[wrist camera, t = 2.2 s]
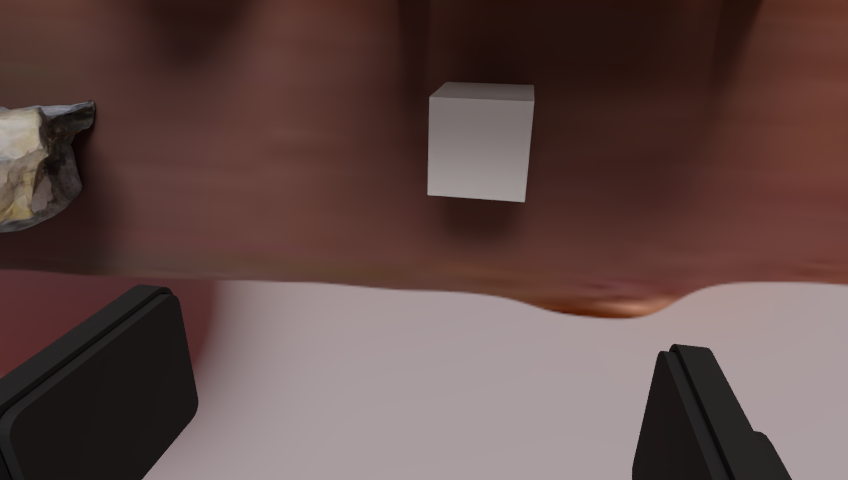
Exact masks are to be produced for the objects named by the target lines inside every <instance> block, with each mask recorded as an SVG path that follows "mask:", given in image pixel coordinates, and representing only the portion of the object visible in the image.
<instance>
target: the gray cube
mask: <svg viewBox="0 0 848 480" xmlns="http://www.w3.org/2000/svg"><path fill="white" fill-rule="evenodd" d="M533 111H534V85H519V84H493V83H467V82H446V83H445V84H444V85H443V86H441V87H440V88H439V89H438V90H437V91H436V92H434V93H433V94H432V95H431V96H430V97H429V145H428V195H434V196H448V197H462V198H475V199H489V200H502V201H516V202H525V194H526V183H527V173H528V162H529V152H530V142H531V131H532V121H533Z"/></svg>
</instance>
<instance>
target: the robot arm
mask: <svg viewBox="0 0 848 480" xmlns="http://www.w3.org/2000/svg"><path fill="white" fill-rule="evenodd" d="M197 408H198V396H197V391H196V385H195V380H194V375H193V370H192V365H191V359H190V354H189V349H188V344H187V339H186V333H185V328H184V323H183V318H182V312H181V307H180V302H179V299H178V298H177V297H176V296H174V295H173V293H172V291H171V290H170V289H169V288H167V287H160V286H151V285H137V286H135V287H133V288H132V289H130V290H129V291H127V292H126V293H124V294H123V295H121V296H120V297H119V298H117V299H116V300H114V301H113V302H111V303H110V304H108V305H107V306H106V307H104V308H103V309H101V310H100V311H98V312H97V313H95V314H94V315H93V316H91V317H89V318H88V319H87V320H85V321H84V322H82V323H81V324H79V325H78V326H76V327H75V328H73V329H72V330H71V331H69V332H68V333H66V334H65V335H63V336H62V337H61V338H59V339H58V340H56V341H55V342H53V343H52V344H50V345H49V346H48V347H46V348H44V349H43V350H42V351H40V352H39V353H37V354H36V355H34V356H33V357H31V358H30V359H28V360H27V361H26V362H24V363H23V364H21V365H20V366H18V367H17V368H16V369H14V370H12V371H11V372H10V373H8V374H7V375H5V376H4V377H2V378H1V379H0V480H142V479H143V477H144V476H145V475H146V474H147V472H148V471H149V470H150V469H151V468H152V467H153V465H154V464H155V463H156V462H157V461H158V460H159V458H160V457H161V456H162V455H163V454H164V452H165V451H166V450H167V449H168V448H169V446H170V445H171V444H172V443H173V442H174V440H175V439H176V438H177V437H178V436H179V434H180V433H181V432H182V431H183V429H184V428H185V427H186V426H187V425H188V424H189V423H190V421H191V420H192V419H193V417H194V416H195V414H196V411H197ZM632 480H792V479H791V477H790V475H789V474H788V472H787V470H786V468H785V466H784V464H783V463H782V461H781V459H780V457H779V455H778V454H777V452H776V450H775V448H774V446H773V445H772V443H771V442H770V440H769V439H768V438H767V436H766V435H764V434H763V433H761V432H756V431H753V429H752V427H751V425H750V423H749V421H748V419H747V417H746V415H745V414H744V412H743V410H742V408H741V406H740V404H739V402H738V400H737V398H736V397H735V395H734V393H733V391H732V389H731V387H730V385H729V383H728V381H727V380H726V378H725V376H724V374H723V372H722V370H721V368H720V366H719V364H718V363H717V361H716V359H715V357H714V355H713V353H712V351H711V350H710V349H709V348H704V347H695V346H687V345H678V344H673V345H672V346H671V348H670V350H669V352H667V351H660V352H659V354H658V357H657V361H656V365H655V369H654V374H653V378H652V383H651V387H650V391H649V396H648V400H647V405H646V409H645V413H644V418H643V422H642V427H641V431H640V435H639V440H638V444H637V449H636V453H635V457H634V462H633V467H632Z"/></svg>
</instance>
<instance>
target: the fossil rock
mask: <svg viewBox="0 0 848 480" xmlns="http://www.w3.org/2000/svg"><path fill="white" fill-rule="evenodd" d="M94 112H95V105H94V101H92V100H90V101H88V102H84V103H79V104H73V105H54V106H39V105H36V106H31V107H26V108H18V109H12V110H9V109H7V108H4V107H0V232H12V231H21V230H24V229H27V228H30V227H33V226H35V225H37V224H39V223H41V222H43V221H45V220H47V219H50V218H52V217H53V216H55V215H56V214H58V213H60V212H61V211H63V210H64V209H65V208H66V207H67V206H68V205H70V203H71V202H72V201H73V199H74V198H76V197H77V196H78V195H79V193H80V191H81V190H82V184H81V180H80V177H79V174H78V170H77V166H76V161H75V155H74V152H73V149H72V147H71V143H72V141H73V138H74V136H75V134H77V133H79V132H80V131H81V130H83V129H87V128H89V127H90V126H91V125H92V123H93V118H94Z"/></svg>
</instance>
